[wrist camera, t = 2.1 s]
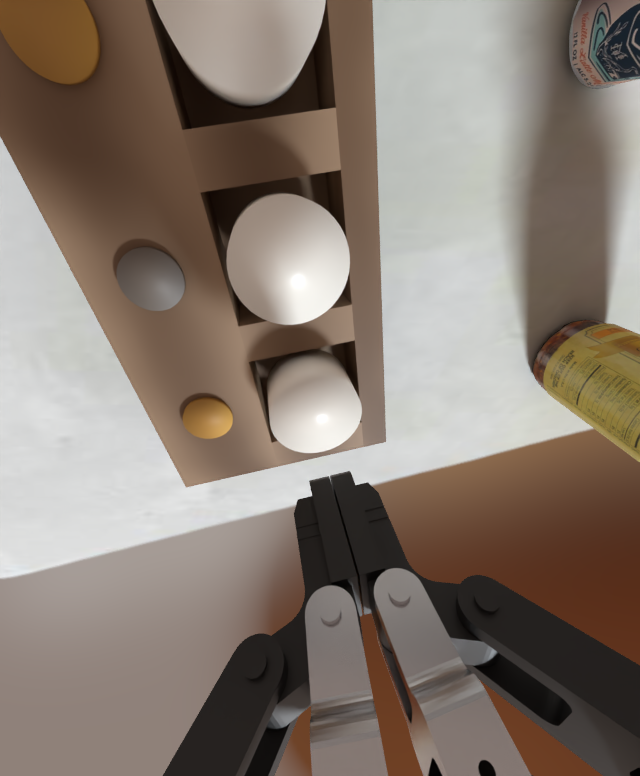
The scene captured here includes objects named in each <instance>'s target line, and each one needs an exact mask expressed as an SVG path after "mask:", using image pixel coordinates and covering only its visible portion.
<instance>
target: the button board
mask: <svg viewBox="0 0 640 776" xmlns="http://www.w3.org/2000/svg"><path fill="white" fill-rule="evenodd" d="M0 136H1V138H2V140H3V142H4V144H5V146H6V148H7V150H8V152H9V153H10V155H11V157H12V159H13V161H14V163H15V165H16V167H17V169H18V170H19V172H20V174H21V176H22V178H23V180H24V182H25V184H26V186H27V187H28V189H29V191H30V193H31V195H32V197H33V199H34V201H35V203H36V204H37V206H38V208H39V210H40V212H41V214H42V216H43V218H44V220H45V221H46V223H47V225H48V227H49V229H50V231H51V233H52V235H53V237H54V238H55V240H56V242H57V244H58V246H59V248H60V250H61V252H62V254H63V255H64V257H65V259H66V261H67V263H68V265H69V267H70V269H71V271H72V272H73V274H74V276H75V278H76V280H77V282H78V284H79V286H80V288H81V289H82V291H83V293H84V295H85V297H86V299H87V301H88V303H89V305H90V306H91V308H92V310H93V312H94V314H95V316H96V318H97V320H98V322H99V323H100V325H101V327H102V329H103V331H104V333H105V335H106V337H107V339H108V340H109V342H110V344H111V346H112V348H113V350H114V352H115V354H116V356H117V357H118V359H119V361H120V363H121V365H122V367H123V369H124V371H125V373H126V374H127V376H128V378H129V380H130V382H131V384H132V386H133V388H134V390H135V391H136V393H137V395H138V397H139V399H140V401H141V403H142V405H143V407H144V408H145V410H146V412H147V414H148V416H149V418H150V420H151V422H152V424H153V425H154V427H155V429H156V431H157V433H158V435H159V437H160V439H161V441H162V442H163V444H164V446H165V448H166V450H167V452H168V454H169V456H170V458H171V459H172V461H173V463H174V465H175V467H176V469H177V471H178V473H179V475H180V476H181V478H182V480H183V482H184V484H185V486H186V487H190V486H194V485H199V484H203V483H207V482H212V481H216V480H221V479H225V478H229V477H234V476H238V475H242V474H247V473H251V472H256V471H260V470H264V469H269V468H273V467H278V466H282V465H286V464H291V463H295V462H299V461H304V460H308V459H313V458H317V457H321V456H326V455H330V454H335V453H339V452H343V451H348V450H352V449H356V448H361V447H365V446H370V445H374V444H378V443H383V442H386V429H385V396H384V364H383V332H382V300H381V267H380V235H379V203H378V171H377V139H376V106H375V74H374V42H373V10H372V0H326V3H325V10H324V15H323V19H322V23H321V27H320V30H319V33H318V36H317V38H316V41H315V43H314V45H313V47H312V49H311V51H310V53H309V55H308V57H307V59H306V61H305V63H304V65H303V67H302V69H301V71H300V73H299V75H298V77H297V79H296V80H295V82H294V83H293V85H292V86H291V88H290V89H289V90H288V91H287V92H286V93H285V94H284V95H283V96H282V97H281V98H280V99H278V100H277V101H275V102H273V103H272V104H269V105H267V106H264V107H260V108H251V109H248V108H240V107H236V106H232V105H230V104H227V103H225V102H223V101H221V100H220V99H218V98H216V97H215V96H214V95H212V94H211V93H210V92H209V91H207V90H206V89H205V88H204V87H203V86H202V85H201V84H200V83H199V82H198V80H197V79H196V78H195V77H194V75H193V74H192V73H191V71H190V70H189V68H188V67H187V65H186V64H185V62H184V60H183V58H182V57H181V55H180V53H179V51H178V49H177V48H176V46H175V44H174V42H173V41H172V39H171V37H170V35H169V34H168V32H167V30H166V28H165V26H164V24H163V22H162V20H161V19H160V17H159V15H158V12H157V10H156V7H155V5H154V3H153V0H0ZM272 192H288V193H292V194H296V195H298V196H301V197H303V198H306V199H308V200H311V201H313V202H315V203H317V204H318V205H320V206H322V207H323V208H324V209H326V210H327V211H328V212H329V213H330V214H331V215H332V216H333V217H334V218H335V220H336V221H337V222H338V223H339V225H340V227H341V229H342V230H343V232H344V235H345V237H346V240H347V243H348V247H349V254H350V268H349V275H348V279H347V282H346V285H345V288H344V290H343V291H342V293H341V295H340V297H339V298H338V300H337V301H336V302H335V303H334V305H333V306H332V307H331V308H330V309H329V310H327V311H326V312H325V313H324V314H322V315H321V316H319V317H317V318H315V319H313V320H311V321H308V322H305V323H301V324H294V325H284V324H277V323H273V322H270V321H267V320H264V319H262V318H260V317H259V316H257V315H255V314H254V313H253V312H251V311H250V310H249V309H248V308H247V307H246V306H245V305H244V304H243V303H242V302H241V301H240V299H239V298H238V296H237V295H236V293H235V291H234V289H233V287H232V285H231V282H230V279H229V276H228V271H227V261H226V259H227V248H228V243H229V240H230V236H231V233H232V229H233V226H234V223H235V221H236V219H237V217H238V216H239V214H240V213H241V211H242V210H243V209H244V208H245V207H246V205H248V204H249V203H250V202H251V201H253V200H254V199H256V198H258V197H260V196H262V195H264V194H268V193H272ZM310 349H319V350H323V351H326V352H328V353H330V354H332V355H333V356H335V357H336V358H337V359H338V360H339V361H340V362H341V363H342V365H343V367H344V369H345V371H346V373H347V375H348V377H349V379H350V381H351V383H352V385H353V387H354V389H355V391H356V393H357V395H358V397H359V399H360V402H361V406H362V415H361V420H360V423H359V425H358V427H357V429H356V430H355V432H354V433H353V434H352V435H351V436H350V437H349V438H348V439H347V440H346V441H345V442H343V443H342V444H340V445H339V446H337V447H335V448H333V449H330V450H327V451H323V452H318V453H302V452H297V451H294V450H291V449H289V448H287V447H285V446H284V445H282V444H281V443H280V442H279V441H278V440H277V439H276V438H275V436H274V434H273V433H272V430H271V426H270V418H269V407H268V395H267V380H268V376H269V374H270V371H271V370H272V368H273V366H274V365H275V364H276V363H277V362H278V361H279V360H280V359H281V358H283V357H284V356H286V355H287V354H290V353H295V352H300V351H305V350H310Z"/></svg>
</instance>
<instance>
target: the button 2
mask: <svg viewBox="0 0 640 776" xmlns="http://www.w3.org/2000/svg"><path fill="white" fill-rule="evenodd" d="M226 261H227V271H228V276H229V279H230V282H231V285H232V287H233V289H234V291H235V293H236V295H237V296H238V298H239V299H240V301H241V302H242V303H243V304H244V305H245V306H246V307H247V308H248V309H249V310H250V311H251V312H253V313H254V314H255V315H257V316H259V317H260V318H262V319H264V320H267V321H270V322H273V323H277V324H284V325H294V324H301V323H305V322H308V321H311V320H313V319H315V318H317V317H319V316H321V315H322V314H324V313H325V312H326V311H327V310H329V309H330V308H331V307H332V306H333V305H334V303H335V302H336V301H337V300H338V298H339V297H340V295H341V293H342V291H343V290H344V288H345V285H346V282H347V279H348V275H349V268H350V254H349V247H348V243H347V240H346V237H345V235H344V232H343V230H342V229H341V227H340V225H339V223H338V222H337V221H336V220H335V218H334V217H333V216H332V215H331V214H330V213H329V212H328V211H327V210H326V209H324V208H323V207H322V206H320V205H318V204H317V203H315V202H313V201H311V200H308V199H306V198H303V197H301V196H298V195H296V194H292V193H288V192H272V193H268V194H264V195H262V196H260V197H258V198H256V199H254V200H253V201H251V202H250V203H249V204H248V205H246V207H245V208H244V209H243V210H242V211H241V213H240V214H239V216H238V217H237V219H236V221H235V223H234V226H233V229H232V233H231V236H230V240H229V243H228V248H227V259H226Z"/></svg>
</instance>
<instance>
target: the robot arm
mask: <svg viewBox="0 0 640 776" xmlns="http://www.w3.org/2000/svg"><path fill="white" fill-rule="evenodd" d="M330 479H331V482H330ZM309 482H310V486H311V491H312V496H311V497H307V498H303V499H299V500H298V501H297V505H296V509H295V512H294V517H295V524H296V530H297V538H298V544H299V551H300V558H301V564H302V571H303V578H304V585H305V598H304V602H303V605H302V608H301V610H300V612H299V613H298V614H297V616H296V617H295V618H294V619H293V620H292V621H291V622H290V623H289V624H287V625H286V626H284V627H283V628H282V629H280V630H279V631H277V632H276V633H275V634H273V635H272V636H270V635H267V634H255V635H253V636H250V637H248V638H247V639H245V640H244V641H243V642H242V643H241V644H240V645H239V646H238V647H237V649H236V651H235V652H234V653H233V655H232V657H231V659H230V661H229V662H228V664H227V665H226V667H225V669H224V671H223V672H222V674H221V676H220V678H219V679H218V681H217V683H216V684H215V686H214V688H213V690H212V691H211V693H210V695H209V697H208V698H207V700H206V702H205V703H204V705H203V707H202V709H201V711H200V712H199V714H198V716H197V718H196V719H195V721H194V723H193V724H192V726H191V728H190V730H189V731H188V733H187V735H186V736H185V738H184V740H183V742H182V743H181V745H180V747H179V748H178V750H177V752H176V754H175V756H174V757H173V759H172V761H171V762H170V764H169V766H168V768H167V769H166V771H165V773H164V774H163V776H274V775H275V773H276V770H277V768H278V765H279V763H280V760H281V758H282V756H283V753H284V750H285V748H286V746H287V743H288V741H289V738H290V736H291V733H292V730H293V728H294V726H295V723H296V721H297V718H298V716H299V715H300V714H301V713H302V712H303V711H305V710H306V709H307V708H308V707H309V706H311V720H310V746H311V762H312V776H388V774H387V768H386V763H385V758H384V752H383V747H382V742H381V736H380V731H379V726H378V721H377V715H376V711H375V706H374V701H373V696H372V691H371V686H370V680H369V676H368V670H367V665H366V659H365V654H364V647H363V646H364V645H363V637H362V630H361V622H360V616H362V609H361V604H362V608H363V611H364V615H365V614H369V613H372V616H373V619H374V623H375V626H376V630H377V637H378V642H379V645H380V648H381V651H382V653H383V656H384V659H385V662H386V665H387V668H388V670H389V673H390V676H391V679H392V681H393V684H394V687H395V690H396V693H397V695H398V698H399V701H400V704H401V707H402V709H403V712H404V715H405V718H406V721H407V724H408V727H409V731H410V735H411V739H412V742H413V746H414V749H415V752H416V755H417V758H418V761H419V764H420V767H421V770H422V772H423V775H424V776H532V775H531V774H530V773H529V771H528V769H527V767H526V765H525V763H524V761H523V759H522V758H521V756H520V754H519V752H518V750H517V748H516V746H515V745H514V743H513V741H512V739H511V737H510V735H509V733H508V732H507V729H506V728H505V726H504V724H503V722H502V720H501V718H500V716H499V715H498V713H497V711H496V709H495V707H494V705H493V703H492V701H491V700H490V698H489V696H488V694H487V692H486V690H485V689H484V687H483V685H482V684H481V683H480V681H479V680H481V681H482V682H483V683H485V684H486V685H487V686H488V687H490V688H491V689H492V690H494V691H495V692H496V693H497V694H499V695H500V696H501V697H503V698H504V699H505V700H506V701H508V702H509V703H510V704H512V705H513V706H514V707H515V708H517V709H518V710H519V711H521V712H522V713H523V714H524V715H526V716H527V717H528V718H530V719H531V720H532V721H533V722H535V723H536V724H537V725H539V726H540V727H542V728H543V729H544V730H545V731H546V732H548V733H549V734H550V735H551V736H553V737H554V738H555V739H557V740H558V741H559V742H561V743H562V744H563V745H564V746H566V747H567V748H568V749H569V750H571V751H572V752H573V753H575V754H576V755H577V756H578V757H580V758H581V759H582V760H584V761H585V762H586V763H587V764H589V765H590V766H591V767H593V768H594V769H595V770H597V771H598V772H599V773H600V774H602V775H603V776H640V666H639V665H638V664H636V663H635V662H633V661H631V660H630V659H628V658H626V657H624V656H623V655H621V654H619V653H618V652H616V651H614V650H613V649H611V648H609V647H607V646H605V645H604V644H602V643H601V642H599V641H597V640H596V639H594V638H592V637H590V636H589V635H587V634H585V633H584V632H582V631H580V630H579V629H577V628H575V627H574V626H572V625H570V624H568V623H567V622H565V621H563V620H562V619H560V618H558V617H557V616H555V615H553V614H551V613H550V612H548V611H546V610H545V609H543V608H541V607H540V606H538V605H536V604H535V603H533V602H531V601H529V600H527V599H526V598H524V597H523V596H521V595H519V594H517V593H516V592H514V591H512V590H510V589H509V588H507V587H506V586H504V585H502V584H500V583H499V582H497V581H495V580H493V579H492V578H489V577H486V576H482V575H474V576H470V577H467V578H466V579H464V581H462V583H461V584H453V583H442V582H435V581H431V580H428V579H426V578H423V577H422V576H420V575H419V574H418V573H416V572H415V571H414V570H413V569H412V568H411V566H410V565H409V563H408V561H407V559H406V557H405V554H404V552H403V550H402V547H401V545H400V543H399V540H398V538H397V536H396V534H395V531H394V529H393V527H392V524H391V522H390V520H389V518H388V515H387V512H386V510H385V508H384V505H383V503H382V500H381V498H380V496H379V493H378V492H377V491H376V490H375V489H374V488H373V487H372V486H371V485H370V484H369V483H364V484H360V485H356V486H355V483H354V480H353V478H352V475H351V472H350V471H348V472H344V473H339V474H335V475H331V476H330V478H329V476H327V477H323V478H319V479H315V480H311V481H309Z"/></svg>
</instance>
